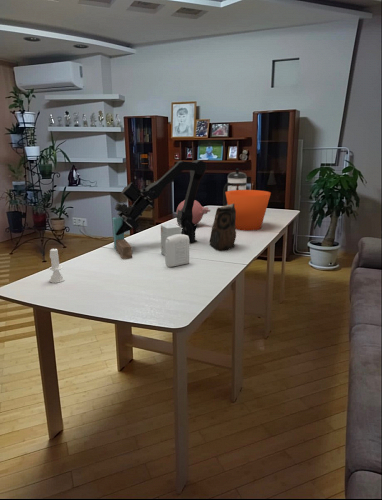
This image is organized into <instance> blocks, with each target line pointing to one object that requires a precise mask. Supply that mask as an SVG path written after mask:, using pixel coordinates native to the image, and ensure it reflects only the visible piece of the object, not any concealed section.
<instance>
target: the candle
mask: <svg viewBox="0 0 382 500" xmlns="http://www.w3.org/2000/svg"><path fill="white" fill-rule="evenodd" d="M49 258H50V262H51V266H50V267H49V268H48V269H49V271H52V272H53V273H52V275H51V276H50V279H49V283H52V284H53V283H55V284H58V283H62V282H64V281H65V280H66V278H65V277H64V276H63V275H62V274H61V272H60V271H61V269H63V265H60V258H59V251H58V249H57V248H51V249H49Z"/></svg>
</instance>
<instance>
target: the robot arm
mask: <svg viewBox="0 0 382 500" xmlns="http://www.w3.org/2000/svg"><path fill="white" fill-rule="evenodd" d="M207 168H208V167H207V164H206V162H205V161H203V160H200V159H199V160H197V159H196V160H193V161H183V160H178V161H177V162H176V163H175V165H173V166H172V167H171V168H170V169H169V170H168V171H167V172H166V173H165V174H163V175H162V177H160V178H159V179H158V180H156V181H154V182H152V183H151V184H149V185H147V186H146V187H145V188H141V189H140V188H138V187H137V186H136V185H135V183H133V182H130V183H129V184H128V185H126V186H124V188H123V189H122V190H121V194H122V195H123V196H124V197H125V198H126V199H128V201H130V202H134V203H133V204H130V205H127V204H126V203H119V202H116V205H115V207H114V210H116V211H117V212H118V213H117V215H118V217H122V218H123V220H122V225H121V226H120V228H119V229H118V231H117V233H116V235H117V236H118V235H120V234H122V233H124V234H125V233H126V232H128V231H131V230H133V229H134V230H135V231H137V229H138V228H139V223H138V222H137V220H138V218H140V217H143V213H144V212H145V211H146V210H147V208H148V207H149V206H150V207H151V208H154V206H155V205H154V201H153V200H157V199H158V198H159V197H160V196H161V194H162V193H163V191H164V189H165V187H167V186H168V185H169V184H170V183H171V182H172V181H173V180H175V178H176V177H177V176H178V175H180V174H181V173H182V172H183V171H189V177H190V179H189V184H188V185H187V190H186V194H185V198H184V200H185V202H184V206H183V208H182V209H181V211H180V210H178V214H177V213H176V217H175V218H176V222H177V223H178V226H180V227H181V234H184V235H187V236H188V237H189V244H192V243H195V242H198V239H196V231H197V227H198V226H197V224H196V225H195V224H194V223H193V222H192V220H193V213H192V209H193V205H194V201H195V200H196V197H197V193H198V190H199V185H200V181H201V180H202V178H203V176H204V175H205V173H206V170H207ZM143 196H144V197H143ZM150 199H151V200H150Z"/></svg>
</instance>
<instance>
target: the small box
mask: <svg viewBox="0 0 382 500" xmlns="http://www.w3.org/2000/svg"><path fill="white" fill-rule="evenodd" d="M181 231H182V228H181V226H180V225H179V224H178V225H177V224H175V223H166V224H160V251H161V252H160V253H161V254H162V255H163V256H165V240H166V238H168V237H170V236H172V235H176V234H181Z"/></svg>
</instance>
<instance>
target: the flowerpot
mask: <svg viewBox="0 0 382 500" xmlns="http://www.w3.org/2000/svg"><path fill="white" fill-rule="evenodd" d="M225 193H226V204H227V203H228V205H231V204H235V205H234V207H235V210H236V220H235V227H236V231H237V230H238V231H243V232H244V231H247V232H249V231H258V230H261V229H262V227H263V221H264V219H265V215H266V212H267V209H268V204H269V200H270V197H271V194H272V192H270V191H267V190H257V189H246V190H232V191H227V190H226V192H225Z"/></svg>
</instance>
